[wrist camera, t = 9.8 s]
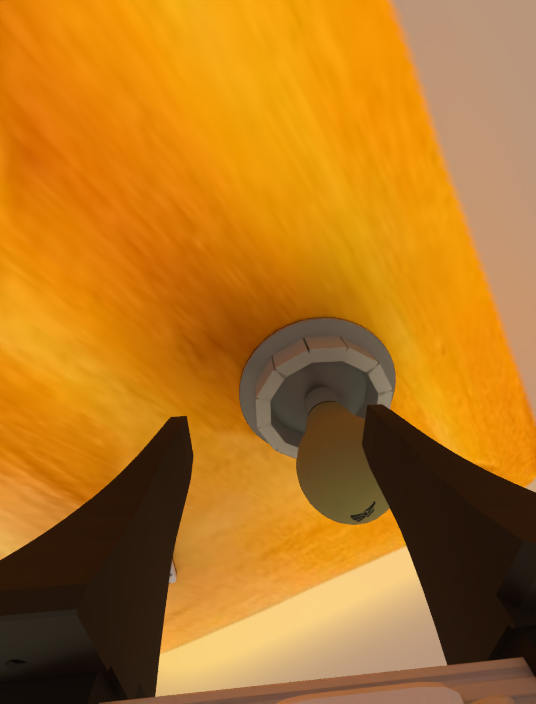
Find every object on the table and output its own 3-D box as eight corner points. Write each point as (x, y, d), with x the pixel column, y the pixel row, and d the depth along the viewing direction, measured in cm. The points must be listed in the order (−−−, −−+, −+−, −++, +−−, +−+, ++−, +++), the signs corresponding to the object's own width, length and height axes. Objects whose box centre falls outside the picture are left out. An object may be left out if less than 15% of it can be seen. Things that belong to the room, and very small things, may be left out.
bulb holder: (381, 444, 27) (394, 466, 25) (244, 454, 26) (244, 477, 24) (404, 313, 22) (422, 325, 20) (234, 321, 21) (232, 335, 19)
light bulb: (337, 431, 25) (388, 555, 16) (273, 417, 24) (290, 542, 15) (366, 374, 23) (444, 481, 14) (297, 355, 22) (334, 459, 13)
